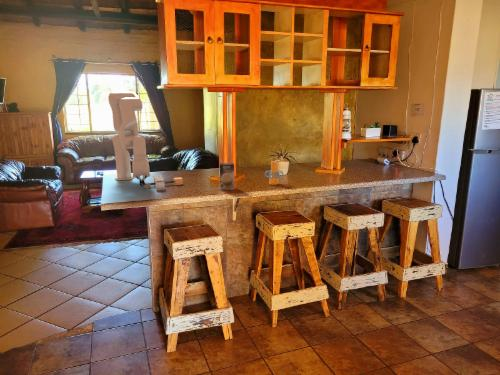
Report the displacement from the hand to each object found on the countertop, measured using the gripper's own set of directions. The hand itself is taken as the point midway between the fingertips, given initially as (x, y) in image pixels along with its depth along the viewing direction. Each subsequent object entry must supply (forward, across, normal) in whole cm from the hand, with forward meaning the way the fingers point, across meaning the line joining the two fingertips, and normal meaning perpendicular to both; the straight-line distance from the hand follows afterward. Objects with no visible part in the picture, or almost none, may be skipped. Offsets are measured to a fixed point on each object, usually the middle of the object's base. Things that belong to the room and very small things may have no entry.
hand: (142, 186), depth 232 cm
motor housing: (+1, -10, 0) cm, 10 cm away
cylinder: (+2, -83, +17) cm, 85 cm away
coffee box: (+2, -50, +20) cm, 54 cm away
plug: (+1, -14, -2) cm, 14 cm away
